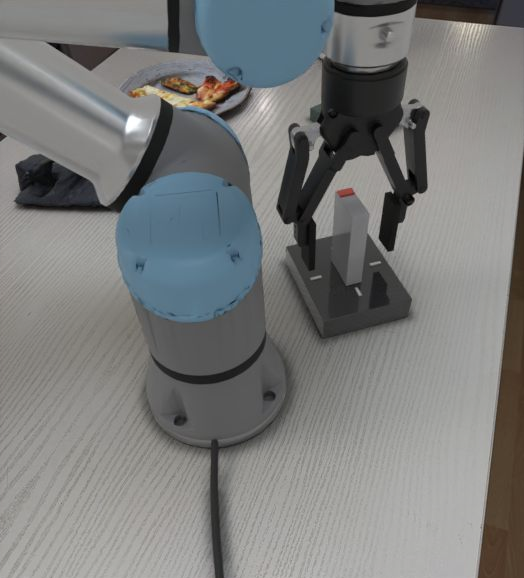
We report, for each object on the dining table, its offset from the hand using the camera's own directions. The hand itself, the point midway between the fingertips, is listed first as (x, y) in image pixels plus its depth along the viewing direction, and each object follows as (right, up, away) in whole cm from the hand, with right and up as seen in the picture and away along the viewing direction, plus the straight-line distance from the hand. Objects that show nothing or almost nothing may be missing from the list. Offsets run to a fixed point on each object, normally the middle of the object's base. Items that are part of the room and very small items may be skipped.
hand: (347, 253), depth 65 cm
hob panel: (0, -4, +4) cm, 6 cm away
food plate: (-25, +36, +39) cm, 59 cm away
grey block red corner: (0, -2, +2) cm, 3 cm away
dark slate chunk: (-37, +15, +22) cm, 46 cm away
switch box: (+6, +28, +30) cm, 42 cm away
